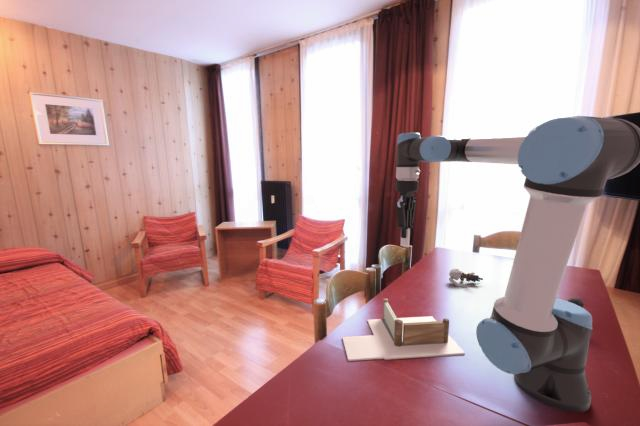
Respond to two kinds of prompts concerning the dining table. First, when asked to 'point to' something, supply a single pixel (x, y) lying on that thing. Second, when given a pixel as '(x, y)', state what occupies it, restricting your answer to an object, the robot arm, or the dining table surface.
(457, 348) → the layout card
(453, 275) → the toy
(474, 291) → the dining table surface
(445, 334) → the fence fixed
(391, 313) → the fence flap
